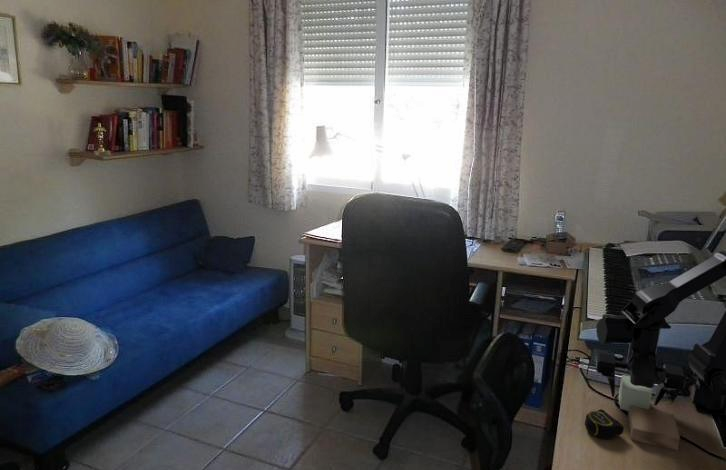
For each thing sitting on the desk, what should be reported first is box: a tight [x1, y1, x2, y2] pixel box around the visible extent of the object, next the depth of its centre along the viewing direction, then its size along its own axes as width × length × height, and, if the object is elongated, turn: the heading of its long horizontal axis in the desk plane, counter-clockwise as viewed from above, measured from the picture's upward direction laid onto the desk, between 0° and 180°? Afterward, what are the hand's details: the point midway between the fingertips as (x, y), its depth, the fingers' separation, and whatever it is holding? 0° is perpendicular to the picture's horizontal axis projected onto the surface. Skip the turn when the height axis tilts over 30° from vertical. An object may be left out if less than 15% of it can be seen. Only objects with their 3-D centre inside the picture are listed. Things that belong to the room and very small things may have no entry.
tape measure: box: [584, 408, 625, 440], centre depth 117 cm, size 7×7×4 cm
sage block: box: [618, 374, 653, 412], centre depth 126 cm, size 6×6×6 cm
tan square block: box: [627, 405, 681, 451], centre depth 117 cm, size 9×9×3 cm
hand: (633, 400), depth 127 cm, fingers open, 9 cm apart
